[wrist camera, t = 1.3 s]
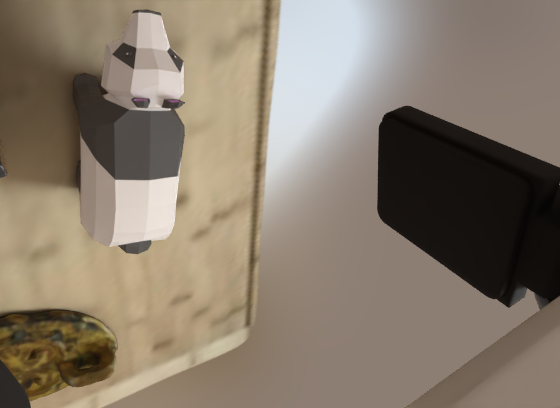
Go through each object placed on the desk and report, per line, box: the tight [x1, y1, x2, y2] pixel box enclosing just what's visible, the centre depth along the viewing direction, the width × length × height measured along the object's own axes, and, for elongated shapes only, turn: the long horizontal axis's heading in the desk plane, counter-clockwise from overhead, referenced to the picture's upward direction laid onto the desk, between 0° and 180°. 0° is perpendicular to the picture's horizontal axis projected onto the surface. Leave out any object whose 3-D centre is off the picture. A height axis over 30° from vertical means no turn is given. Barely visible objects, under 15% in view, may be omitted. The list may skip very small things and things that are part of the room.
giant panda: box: [73, 10, 185, 254], centre depth 27 cm, size 15×6×10 cm, turn 167°
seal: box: [0, 310, 118, 401], centre depth 35 cm, size 9×5×15 cm
